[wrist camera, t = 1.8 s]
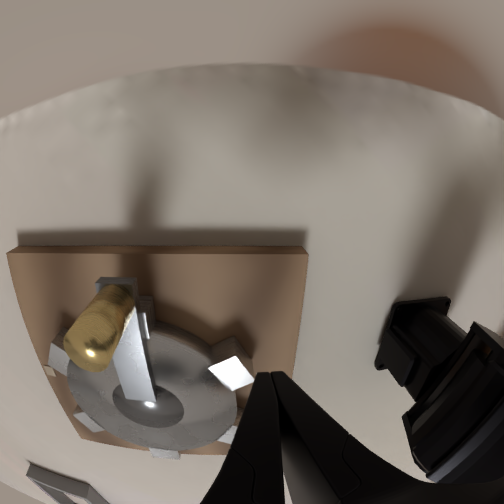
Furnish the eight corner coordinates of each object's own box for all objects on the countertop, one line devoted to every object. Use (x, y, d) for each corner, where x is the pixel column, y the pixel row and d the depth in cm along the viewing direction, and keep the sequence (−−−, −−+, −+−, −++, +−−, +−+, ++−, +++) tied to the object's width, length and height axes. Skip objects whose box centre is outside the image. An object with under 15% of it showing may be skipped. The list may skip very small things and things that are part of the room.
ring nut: (256, 263, 16) (280, 336, 9) (247, 441, 21) (256, 506, 14) (34, 261, 14) (-31, 310, 8) (97, 430, 19) (80, 486, 13)
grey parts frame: (89, 485, 27) (86, 498, 24) (125, 518, 33) (124, 529, 30) (30, 463, 25) (25, 475, 22) (74, 504, 32) (71, 513, 29)
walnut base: (301, 246, 17) (309, 255, 16) (275, 440, 23) (277, 452, 22) (17, 246, 15) (5, 253, 14) (84, 428, 21) (80, 438, 20)
